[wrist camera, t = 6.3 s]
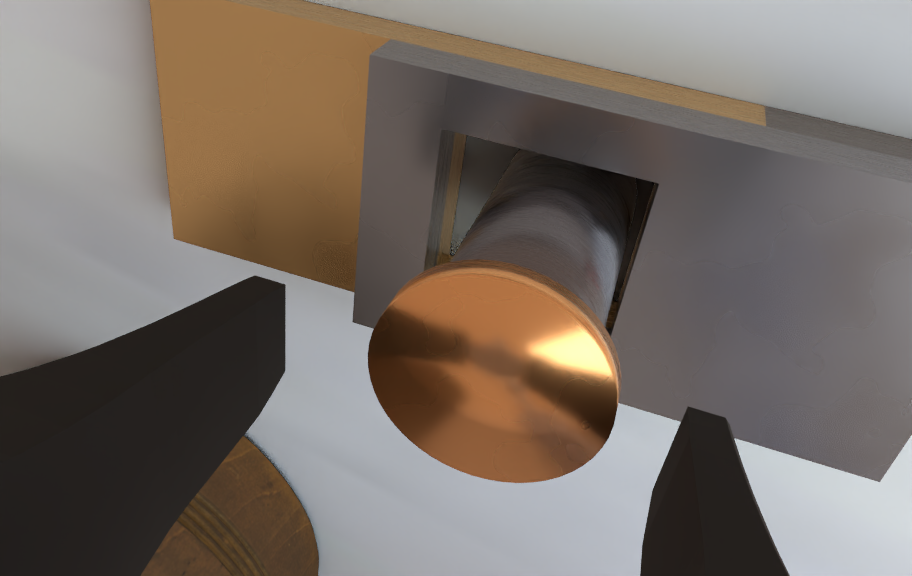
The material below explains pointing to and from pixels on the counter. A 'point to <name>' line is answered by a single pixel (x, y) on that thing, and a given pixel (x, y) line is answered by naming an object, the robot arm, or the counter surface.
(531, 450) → the pin
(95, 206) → the counter surface
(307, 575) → the brown labelled jar
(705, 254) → the slotted panel plate
